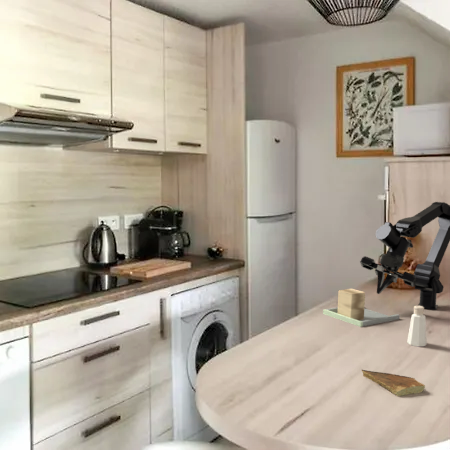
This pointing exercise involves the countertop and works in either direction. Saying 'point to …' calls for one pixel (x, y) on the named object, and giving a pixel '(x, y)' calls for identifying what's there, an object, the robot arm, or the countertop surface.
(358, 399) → the countertop surface
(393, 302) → the countertop surface
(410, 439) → the countertop surface
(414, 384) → the shard
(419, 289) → the robot arm
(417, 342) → the salt shaker
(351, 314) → the block
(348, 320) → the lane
